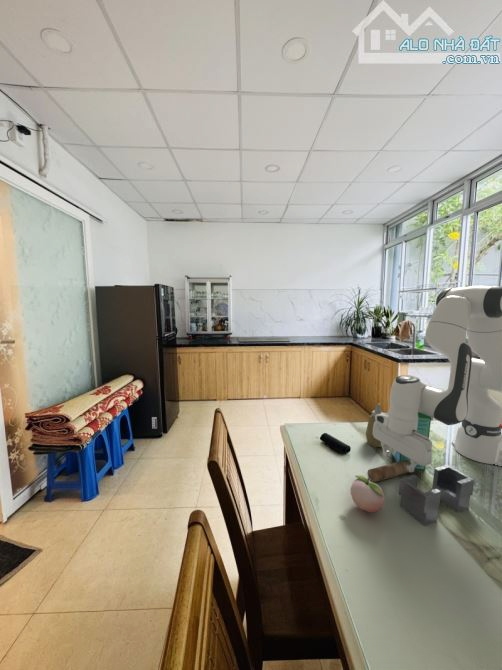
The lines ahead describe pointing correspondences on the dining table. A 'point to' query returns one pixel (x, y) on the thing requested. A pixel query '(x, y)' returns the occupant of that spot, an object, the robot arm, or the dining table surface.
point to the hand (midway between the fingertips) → (397, 462)
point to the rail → (388, 470)
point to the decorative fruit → (367, 494)
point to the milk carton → (422, 427)
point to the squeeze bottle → (369, 431)
